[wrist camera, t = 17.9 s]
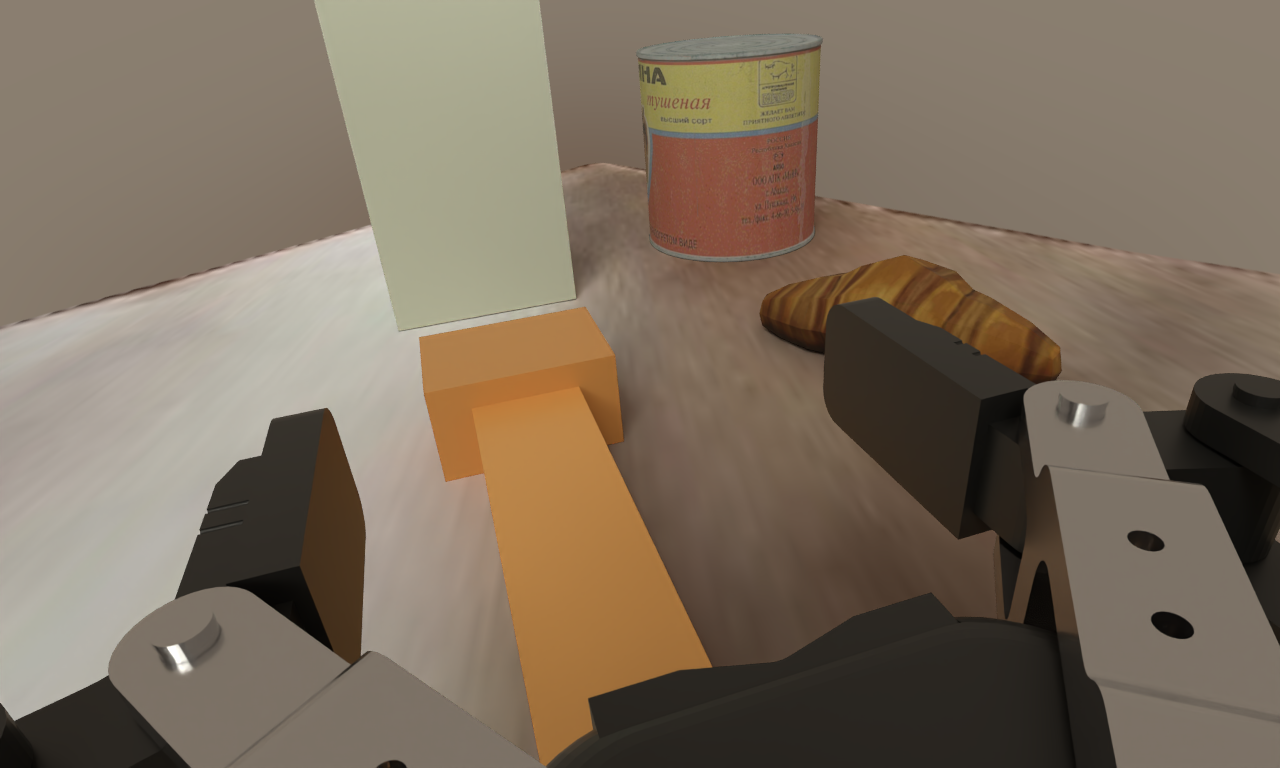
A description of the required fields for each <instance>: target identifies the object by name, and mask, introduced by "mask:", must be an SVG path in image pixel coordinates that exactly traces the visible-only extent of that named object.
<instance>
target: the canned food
mask: <svg viewBox="0 0 1280 768" xmlns="http://www.w3.org/2000/svg"><path fill="white" fill-rule="evenodd" d="M822 42H823V38H822V37H820V36H816V35H809V34H758V35H739V36H724V37H712V38H701V39H692V40H684V41H676V42H669V43H663V44H658V45H652V46H648V47H644V48H641V49H639V50H637V52H636V56H637V57H638V62H639V77H640V91H641V104H642V119H643V134H644V148H645V162H646V177H647V191H648V205H649V220H650V234H649V239H650V243H651V244H652V245H653V247H655V248H656V249H657V250H659V251H661V252H663V253H665V254H668V255H671V256H674V257H678V258H683V259H688V260H696V261H706V262H738V261H750V260H758V259H764V258H770V257H774V256H778V255H782V254H786V253H789V252H791V251H794V250H796V249H799V248H801V247H802V246H804V245H806V244H807V243H808V242H810V241H811V240H812V238H813V237H814V234H815V227H814V201H815V176H816V151H817V124H818V100H819V76H820V75H819V74H820V51H821V50H820V49H821V44H822Z"/></svg>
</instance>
